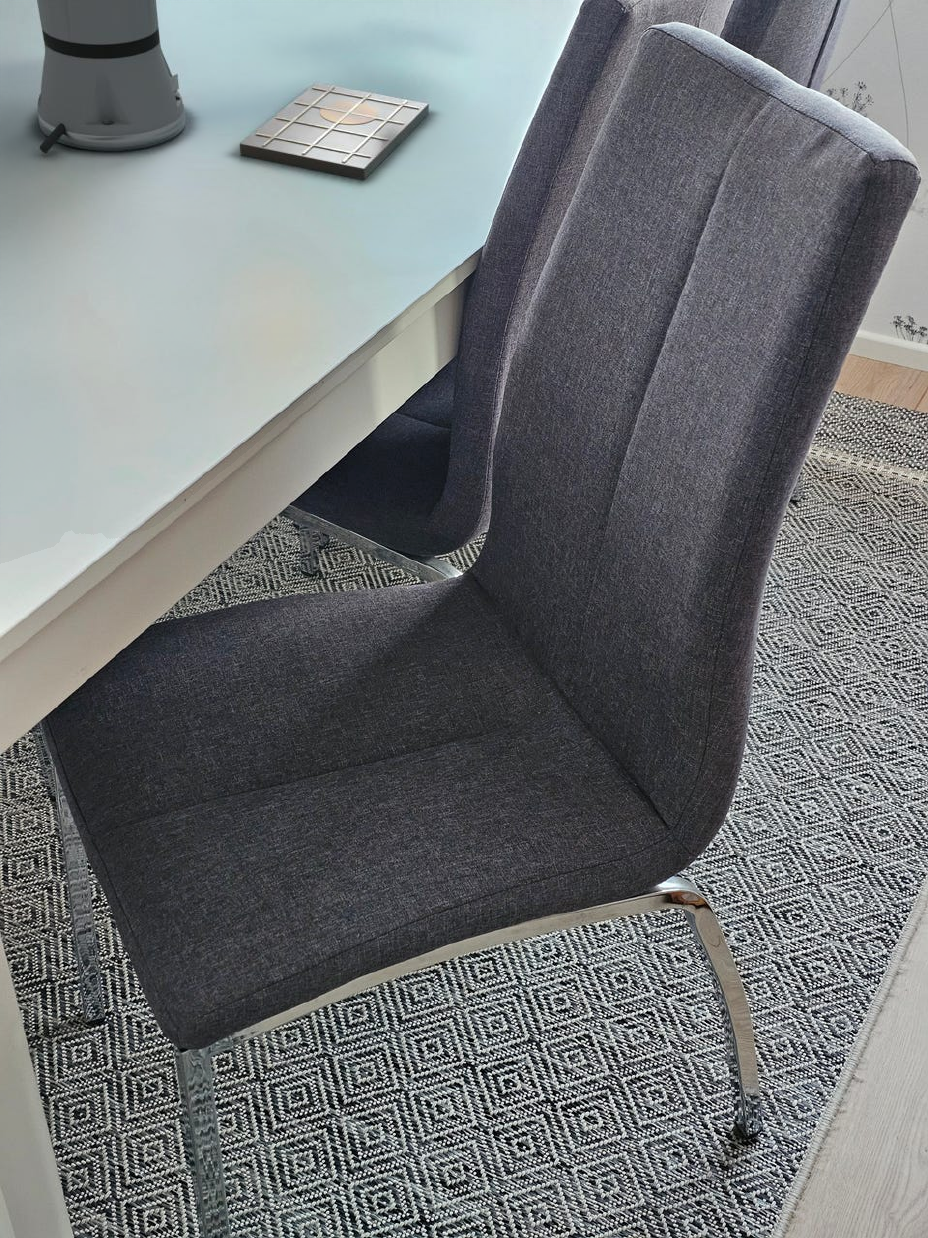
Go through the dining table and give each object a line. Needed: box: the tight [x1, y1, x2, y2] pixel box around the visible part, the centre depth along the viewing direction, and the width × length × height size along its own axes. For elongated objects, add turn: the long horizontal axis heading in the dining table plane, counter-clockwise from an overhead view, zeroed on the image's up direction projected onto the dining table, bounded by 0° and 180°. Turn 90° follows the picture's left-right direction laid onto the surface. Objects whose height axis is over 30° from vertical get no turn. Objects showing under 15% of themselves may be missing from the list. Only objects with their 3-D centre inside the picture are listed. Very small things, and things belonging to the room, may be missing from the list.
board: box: [239, 82, 430, 181], centre depth 131 cm, size 20×14×1 cm
